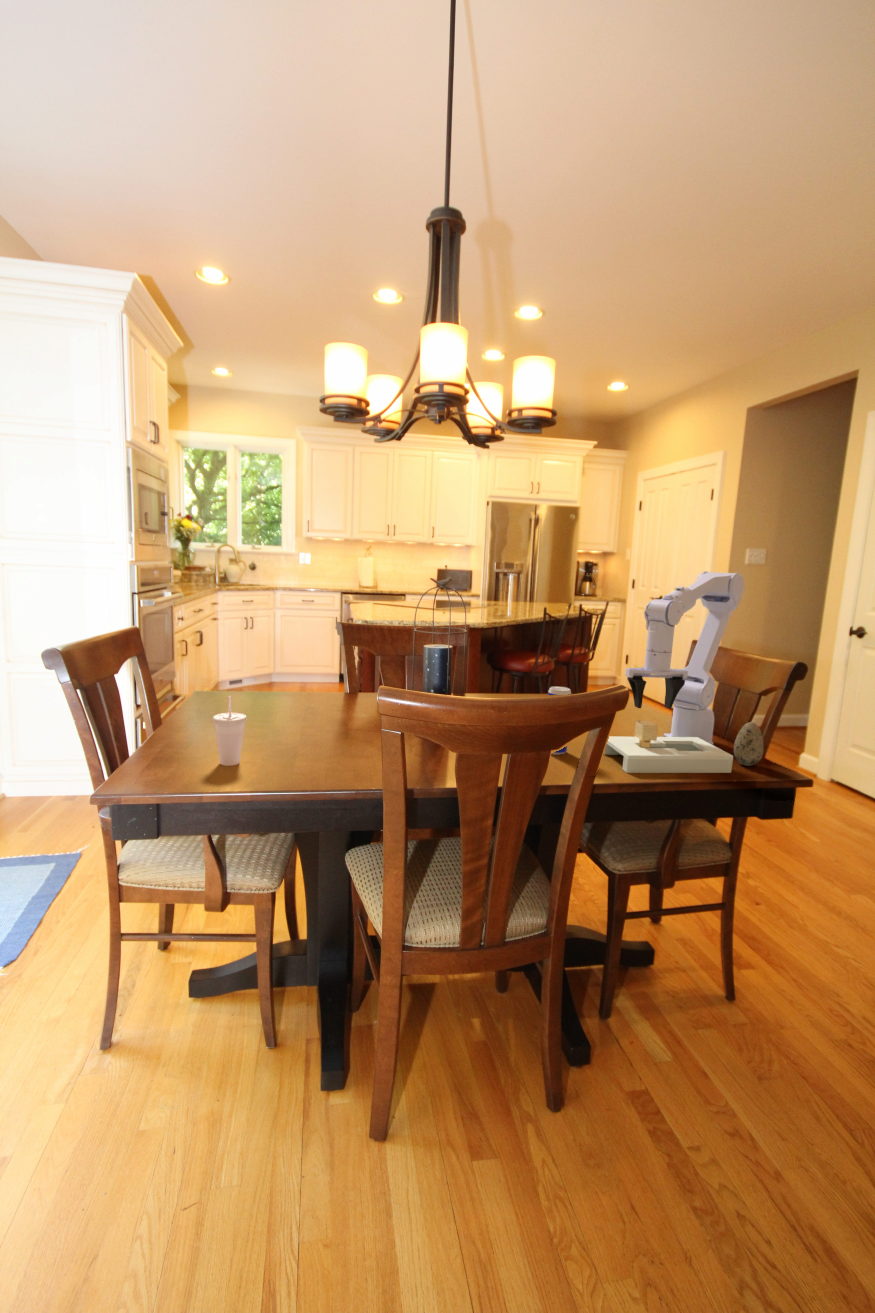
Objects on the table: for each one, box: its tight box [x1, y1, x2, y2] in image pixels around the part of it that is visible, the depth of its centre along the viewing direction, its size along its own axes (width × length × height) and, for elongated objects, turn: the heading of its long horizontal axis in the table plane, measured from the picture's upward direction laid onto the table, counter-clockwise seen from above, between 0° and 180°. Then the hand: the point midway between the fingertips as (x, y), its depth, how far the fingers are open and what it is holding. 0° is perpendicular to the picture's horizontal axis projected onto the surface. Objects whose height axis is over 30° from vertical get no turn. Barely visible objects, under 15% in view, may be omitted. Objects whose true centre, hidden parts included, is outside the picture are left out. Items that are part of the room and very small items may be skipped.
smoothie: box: [212, 695, 247, 767], centre depth 122 cm, size 6×6×14 cm
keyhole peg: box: [633, 720, 659, 748], centre depth 136 cm, size 6×6×9 cm
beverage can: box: [547, 686, 572, 756], centre depth 139 cm, size 5×5×15 cm
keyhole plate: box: [604, 735, 734, 774], centre depth 136 cm, size 24×14×4 cm, turn 98°
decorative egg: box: [733, 721, 765, 767], centre depth 137 cm, size 6×6×10 cm
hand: (652, 707), depth 144 cm, fingers open, 7 cm apart
